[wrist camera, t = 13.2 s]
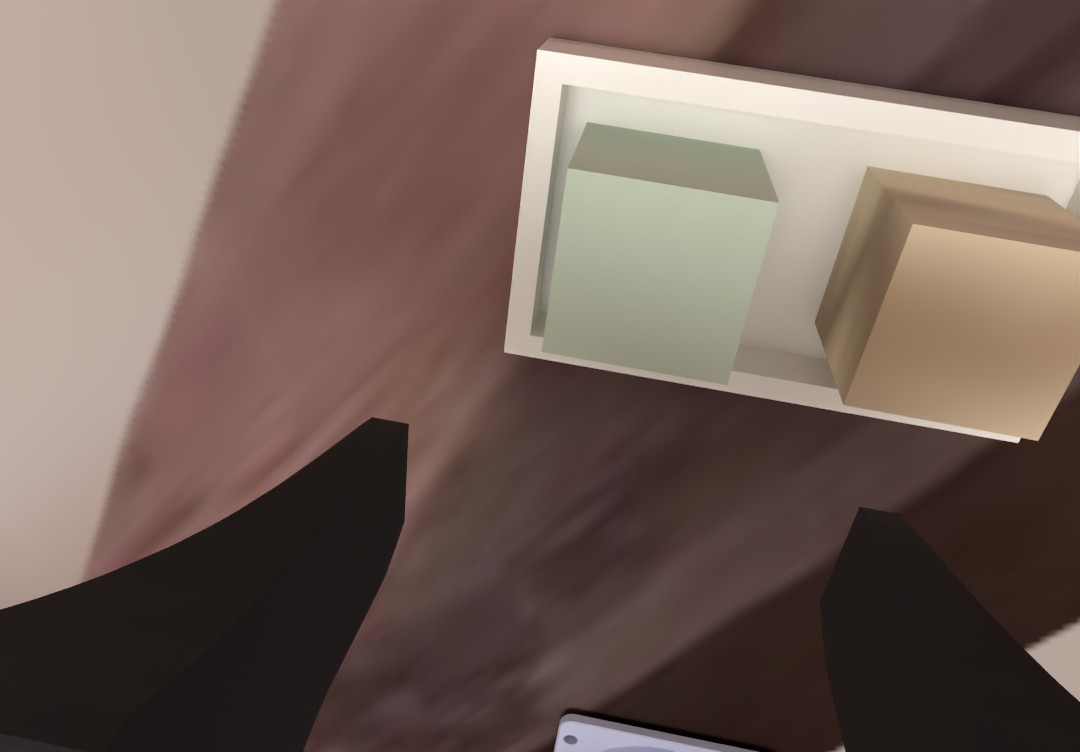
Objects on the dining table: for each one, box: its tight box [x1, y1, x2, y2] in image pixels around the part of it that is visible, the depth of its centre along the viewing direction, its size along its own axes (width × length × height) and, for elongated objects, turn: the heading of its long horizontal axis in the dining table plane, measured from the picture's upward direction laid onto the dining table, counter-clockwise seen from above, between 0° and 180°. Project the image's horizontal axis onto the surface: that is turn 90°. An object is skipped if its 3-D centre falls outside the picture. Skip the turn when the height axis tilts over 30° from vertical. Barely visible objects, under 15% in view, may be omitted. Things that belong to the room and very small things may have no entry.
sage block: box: [542, 122, 779, 385], centre depth 18 cm, size 4×4×4 cm
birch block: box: [815, 166, 1080, 441], centre depth 17 cm, size 4×4×4 cm
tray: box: [504, 37, 1080, 443], centre depth 19 cm, size 7×13×2 cm, turn 83°
